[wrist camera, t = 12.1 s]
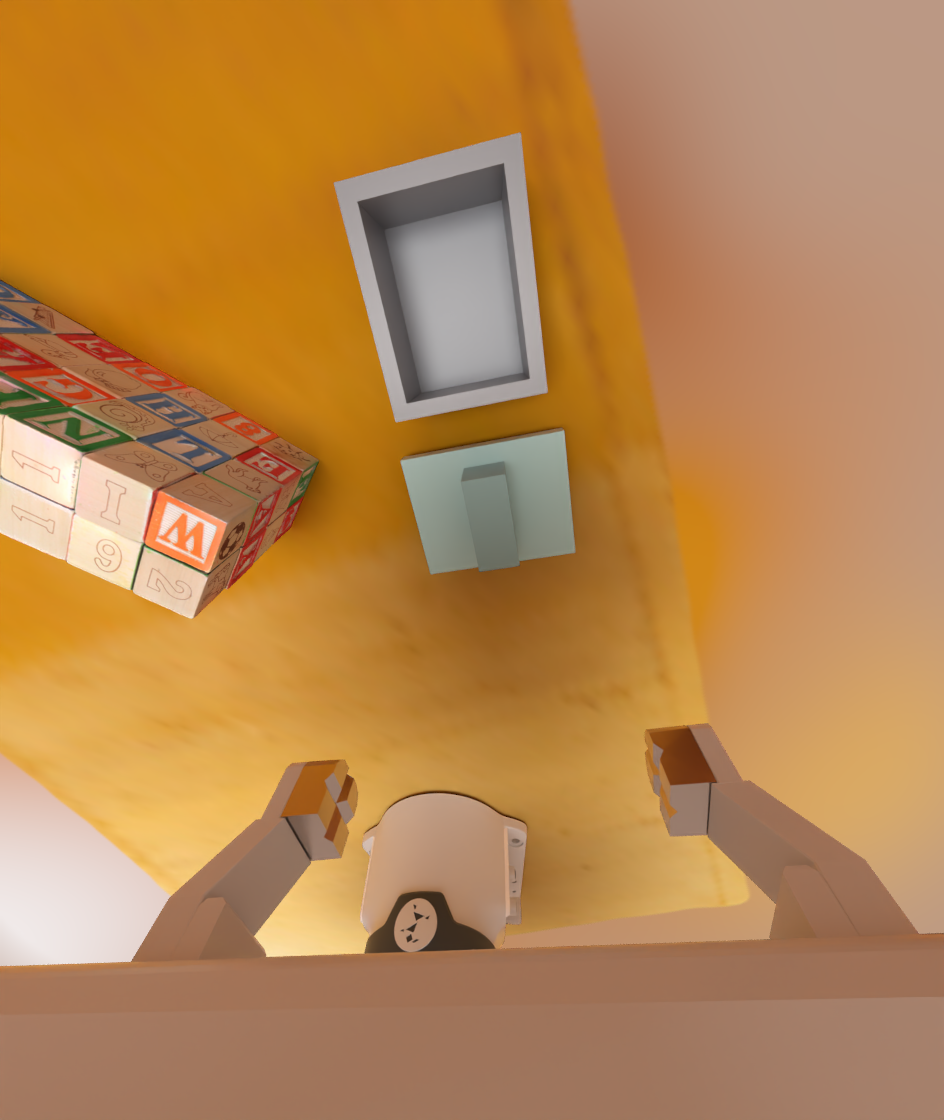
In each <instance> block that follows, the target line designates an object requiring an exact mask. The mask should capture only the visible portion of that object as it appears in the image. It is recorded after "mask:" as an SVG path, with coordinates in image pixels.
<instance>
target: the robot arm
mask: <svg viewBox="0 0 944 1120" xmlns="http://www.w3.org/2000/svg"><path fill="white" fill-rule="evenodd" d="M645 742H646V744H647V747H648V750H647V751H646V752H645V757H646V766H647V771H648V776H649V779H650V783H651V785H652V788H653V791H654V793H656V794H657V795H658V796H659V797H660V811H661V813H662V816H663V819H664V821H665V824H666V827H667V830H668V832H669V835H670V836H694V835H708V838H709V839H710V840H711V841H712V842H713V843H714V844H715V845H716V846H717V847H718V848H719V849H720V850H721V851H722V852H723V853H724V854H725V855H727V856H728V857H729V858H730V859H731V860H732V861H733V862H734V863H735V864H736V865H737V866H738V867H739V868H740V869H741V870H742V871H743V872H744V873H745V874H746V875H747V876H748V877H749V878H750V879H751V880H752V881H753V882H754V883H755V884H756V885H757V886H758V887H759V888H760V889H761V890H762V891H763V892H764V893H765V894H766V895H767V896H768V897H769V898H770V899H771V900H772V901H773V902H774V903H775V904H776V908H775V913H774V918H773V922H772V927H771V932H770V939H764V940H738V941H709V942H682V943H681V942H680V943H653V944H626V945H625V944H623V945H598V946H597V945H594V946H566V947H537V948H509V949H500V948H501V946H502V945H503V943H504V939H505V928H506V924H508V923H509V924H517V925H520V924H521V900H520V896H521V887H522V877H523V868H524V859H525V849H526V840H527V826H526V824H524V823H523V822H521V821H518V820H515V819H512V818H509V817H505V816H502V815H500V814H499V813H497V812H495V811H494V810H493V809H491V808H490V807H488V806H486V805H485V804H483V803H481V802H478V801H476V800H473V799H470V798H467V797H464V796H459V795H454V794H444V793H432V794H422V795H417V796H413V797H409V798H406V799H404V800H402V801H400V802H398V803H396V804H394V805H393V806H392V807H390V808H389V809H388V810H387V811H386V813H385V814H384V815H383V817H382V819H381V821H380V823H379V824H378V825H377V826H376V827H374V828H372V829H371V830H369V831H368V832H366V833H365V834H364V836H363V843H362V847H363V848H364V850H365V851H366V852H367V853H368V854H369V855H370V859H369V865H368V871H367V877H366V882H365V888H364V894H363V900H362V906H361V912H360V920H361V922H362V923H363V926H364V928H365V929H366V931H367V932H368V933H369V935H370V937H369V939H368V941H367V944H366V949H365V954H340V955H312V956H284V957H266V953H265V950H264V948H263V947H262V946H261V945H260V943H259V942H258V941H257V939H256V938H255V937H254V935H255V934H256V933H257V932H258V930H259V929H260V928H261V926H262V925H263V924H264V923H265V921H266V920H267V919H268V917H269V916H270V915H271V914H272V912H273V911H274V910H275V908H276V907H277V906H278V905H279V903H280V902H281V901H282V899H283V898H284V897H285V896H286V894H287V893H288V892H289V891H290V889H291V888H292V887H293V885H294V884H295V883H296V882H297V880H298V879H299V878H300V876H301V875H302V874H303V873H304V871H305V870H306V869H307V867H308V866H309V865H310V864H311V862H310V861H315V860H325V859H335V858H341V857H342V853H343V850H344V847H345V844H346V841H347V837H348V834H349V831H348V828H347V825H346V824H347V823H348V822H349V821H350V820H351V818H352V817H353V816H354V814H355V811H356V807H357V800H358V790H357V785H356V782H355V780H354V778H352V777H351V776H349V775H348V774H347V772H348V769H349V767H348V765H347V763H346V761H345V760H328V761H313V762H301V763H292V764H291V765H290V766H288V767H287V769H286V771H285V773H284V774H283V776H282V778H281V780H280V782H279V784H278V786H277V788H276V790H275V792H274V794H273V796H272V798H271V800H270V802H269V804H268V806H267V808H266V810H265V812H264V814H263V816H262V818H261V819H259V820H255V821H254V822H253V823H252V824H251V825H250V826H248V827H247V828H246V829H245V830H244V831H243V832H242V833H241V834H240V835H238V836H237V837H236V838H235V839H234V840H233V841H232V842H231V843H230V844H229V845H227V846H226V847H225V848H224V849H223V850H222V851H221V852H220V853H219V854H217V855H216V856H215V857H214V858H213V859H212V860H211V861H210V862H209V863H208V864H206V865H205V866H204V867H203V868H202V869H201V870H200V871H199V872H198V873H196V874H195V875H194V876H193V877H192V878H191V879H190V880H189V881H188V882H187V883H185V884H184V885H183V886H182V887H181V888H180V889H179V890H178V891H177V892H175V893H174V894H173V895H172V896H171V897H170V898H169V899H168V901H167V903H166V904H165V906H164V908H163V909H162V911H161V913H160V914H159V916H158V918H157V919H156V921H155V923H154V924H153V926H152V928H151V929H150V931H149V933H148V934H147V936H146V938H145V939H144V941H143V943H142V945H141V946H140V948H139V949H138V951H137V953H136V954H135V956H134V958H133V959H132V961H131V962H118V963H88V964H60V965H59V964H58V965H29V966H0V1120H944V933H931V934H930V933H929V934H919V933H918V932H917V930H916V929H915V928H914V927H913V925H912V924H911V922H910V921H909V919H908V918H907V917H906V915H905V914H904V913H903V911H902V910H901V908H900V907H899V906H898V904H897V903H896V902H895V900H894V899H893V897H892V896H891V895H890V894H889V892H888V891H887V889H886V888H885V886H884V885H883V884H882V882H881V881H880V880H879V878H878V877H877V876H876V874H875V873H874V871H873V870H872V869H871V867H870V866H869V864H868V863H867V862H866V860H864V859H863V858H862V857H860V856H859V855H857V854H856V853H854V852H853V851H851V850H850V849H848V848H847V847H846V846H844V845H842V844H841V843H840V842H838V841H837V840H835V839H834V838H832V837H831V836H829V835H828V834H826V833H825V832H824V831H822V830H821V829H819V828H818V827H816V826H815V825H814V824H812V823H811V822H809V821H808V820H806V819H805V818H803V817H802V816H800V815H799V814H798V813H796V812H795V811H793V810H792V809H790V808H789V807H787V806H786V805H784V804H783V803H782V802H780V801H778V800H777V799H776V798H774V797H773V796H771V795H770V794H768V793H767V792H766V791H764V790H763V789H761V788H760V787H758V786H757V785H755V784H754V783H752V782H751V781H743V780H742V778H741V777H740V775H739V773H738V772H737V770H736V768H735V766H734V765H733V763H732V761H731V760H730V758H729V756H728V755H727V753H726V751H725V749H724V748H723V746H722V744H721V743H720V741H719V739H718V737H717V736H716V734H715V732H714V730H713V729H712V727H711V726H710V725H709V724H696V725H687V726H685V725H683V726H674V727H665V728H656V729H647V730H646V731H645Z"/></svg>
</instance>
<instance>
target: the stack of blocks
mask: <svg viewBox="0 0 944 1120" xmlns="http://www.w3.org/2000/svg"><path fill="white" fill-rule="evenodd" d="M318 462H319V460H318V459H317V458H315V457H313V456H311V455H310V454H308V453H306V452H304V451H303V450H301V449H299V448H297V447H296V446H294V445H292V444H290V443H289V442H287V441H285V440H283V439H282V438H280V437H279V436H278V435H277V434H275V433H273V432H271V431H270V430H268V429H266V428H264V427H263V426H261V425H259V424H257V423H256V422H254V421H252V420H250V419H249V418H247V417H245V416H243V415H242V414H240V413H238V412H236V411H234V410H233V409H231V408H229V407H228V406H226V405H224V404H223V403H221V402H219V401H217V400H215V399H214V398H212V397H210V396H208V395H207V394H205V393H203V392H201V391H199V390H198V389H196V388H193V387H189V386H187V385H185V384H184V383H182V382H180V381H178V380H176V379H174V378H172V377H171V376H169V375H168V374H166V373H164V372H162V371H160V370H158V369H157V368H155V367H153V366H151V365H150V364H148V363H145V362H142V361H141V360H139V359H137V358H135V357H134V356H132V355H130V354H129V353H127V352H125V351H123V350H121V349H120V348H118V347H116V346H114V345H112V344H111V343H109V342H107V341H105V340H103V339H102V338H100V337H97V336H95V335H94V333H93V332H92V331H91V330H89V329H87V328H85V327H83V326H82V325H80V324H78V323H76V322H74V321H73V320H71V319H69V318H67V317H66V316H64V315H62V314H60V313H59V312H57V311H55V310H53V309H52V308H50V307H48V306H45V305H43V304H41V303H40V302H38V301H36V300H35V299H33V298H31V297H29V296H27V295H26V294H24V293H22V292H20V291H19V290H17V289H15V288H13V287H11V286H10V285H8V284H6V283H4V282H2V281H1V280H0V533H2V534H4V535H6V536H8V537H10V538H12V539H14V540H16V541H19V542H21V543H24V544H26V545H28V546H31V547H33V548H36V549H38V550H40V551H42V552H44V553H46V554H49V555H51V556H54V557H56V558H59V559H62V560H66V561H67V562H68V563H69V564H71V565H73V566H75V567H77V568H80V569H82V570H84V571H87V572H89V573H91V574H93V575H96V576H98V577H100V578H102V579H104V580H107V581H109V582H111V583H114V584H116V585H118V586H121V587H123V588H125V589H128V590H133V592H134V593H135V594H136V595H138V596H140V597H143V598H145V599H147V600H149V601H152V602H154V603H156V604H158V605H161V606H163V607H165V608H167V609H169V610H172V611H174V612H176V613H178V614H180V615H183V616H185V617H187V618H191V619H192V618H194V617H196V616H197V615H198V614H199V613H200V612H201V611H202V610H203V609H204V608H205V607H206V606H207V605H208V604H209V603H210V602H211V601H212V600H213V599H214V598H215V597H216V596H217V595H219V594H220V592H221V591H222V590H223V589H224V588H225V589H228V588H230V587H231V586H232V585H233V584H234V583H235V582H236V581H237V580H238V579H239V578H240V577H241V576H242V575H243V574H244V573H246V571H247V570H248V569H249V568H250V567H251V566H252V565H253V563H254V562H255V561H256V560H257V559H258V558H259V557H260V556H261V555H262V554H263V553H264V552H265V551H266V550H267V549H268V548H269V547H270V546H271V545H272V544H274V543H275V542H276V541H277V540H278V539H279V538H280V537H281V536H282V535H283V534H284V533H286V532H287V531H288V530H289V529H290V527H291V525H292V523H293V520H294V518H295V516H296V514H297V511H298V509H299V507H300V504H301V502H302V500H303V497H304V493H305V491H306V489H307V487H308V484H309V482H310V480H311V478H312V475H313V473H314V471H315V468H316V466H317V464H318Z"/></svg>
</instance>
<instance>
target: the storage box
mask: <svg viewBox="0 0 944 1120" xmlns="http://www.w3.org/2000/svg"><path fill="white" fill-rule="evenodd" d="M334 186H335V190H336V194H337V197H338V201H339V205H340V209H341V213H342V217H343V221H344V224H345V228H346V232H347V236H348V240H349V244H350V248H351V251H352V255H353V259H354V263H355V267H356V271H357V275H358V278H359V282H360V286H361V290H362V294H363V298H364V302H365V305H366V309H367V313H368V317H369V321H370V325H371V328H372V332H373V336H374V340H375V344H376V348H377V352H378V355H379V359H380V363H381V367H382V371H383V375H384V379H385V382H386V386H387V390H388V394H389V398H390V402H391V406H392V409H393V413H394V417H395V421H396V422H400V421H405V420H410V419H416V418H421V417H426V416H431V415H436V414H441V413H446V412H451V411H457V410H462V409H467V408H472V407H477V406H482V405H487V404H492V403H497V402H503V401H508V400H513V399H518V398H523V397H528V396H533V395H538V394H544V393H548V390H547V380H546V371H545V361H544V351H543V342H542V332H541V323H540V313H539V304H538V294H537V284H536V275H535V265H534V256H533V246H532V237H531V227H530V217H529V208H528V198H527V189H526V179H525V170H524V160H523V150H522V141H521V132H520V133H516V134H513V135H509V136H505V137H502V138H498V139H494V140H490V141H487V142H483V143H479V144H476V145H472V146H468V147H465V148H461V149H457V150H453V151H450V152H446V153H442V154H439V155H435V156H431V157H428V158H424V159H420V160H416V161H413V162H409V163H405V164H402V165H398V166H394V167H391V168H387V169H383V170H379V171H376V172H372V173H368V174H365V175H361V176H357V177H354V178H350V179H346V180H342V181H339V182H335V183H334Z"/></svg>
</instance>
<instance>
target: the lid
mask: <svg viewBox="0 0 944 1120" xmlns="http://www.w3.org/2000/svg"><path fill="white" fill-rule="evenodd" d="M401 465H402V469H403V473H404V476H405V480H406V484H407V488H408V491H409V495H410V499H411V503H412V507H413V510H414V514H415V518H416V522H417V525H418V529H419V533H420V537H421V540H422V544H423V548H424V552H425V556H426V559H427V563H428V567H429V571H430V574H437V573H443V572H450V571H457V570H463V569H470V568H477V567H478V568H479V572H482V571H489V570H496V569H503V568H509V567H516V566H520V563H519V561H524V560H530V559H537V558H544V557H550V556H557V555H564V554H570V553H575V542H574V531H573V520H572V509H571V498H570V488H569V477H568V466H567V455H566V444H565V433H564V430H563V428H557V429H552V430H547V431H541V432H536V433H530V434H525V435H520V436H514V437H509V438H503V439H498V440H493V441H487V442H482V443H476V444H471V445H466V446H460V447H455V448H449V449H444V450H438V451H433V452H428V453H422V454H417V455H411V456H406V457H403V458H402V459H401Z"/></svg>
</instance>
